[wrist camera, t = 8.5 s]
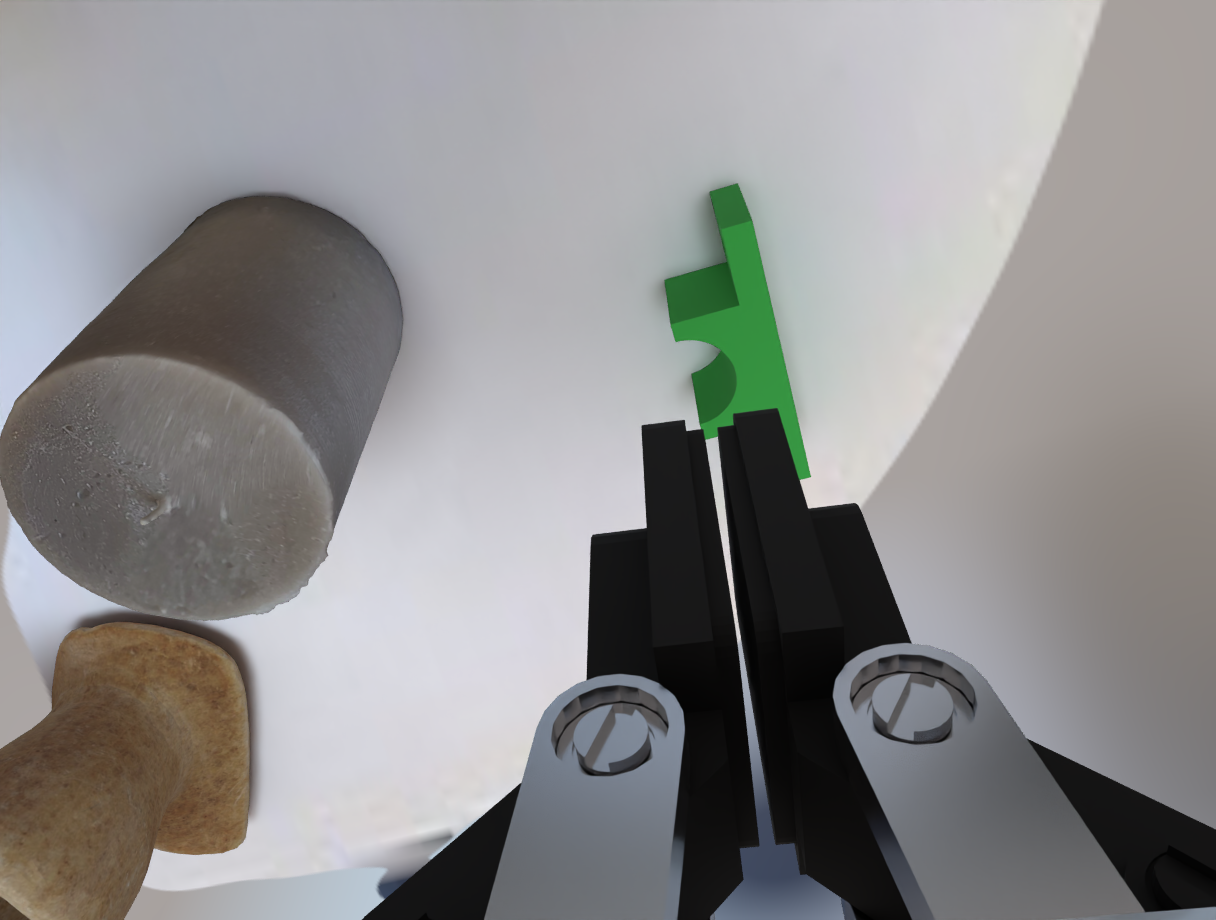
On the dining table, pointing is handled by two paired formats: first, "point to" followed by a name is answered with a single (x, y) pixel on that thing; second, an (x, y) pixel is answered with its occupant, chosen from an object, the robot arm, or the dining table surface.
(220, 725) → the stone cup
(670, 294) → the pipe clamp
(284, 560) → the pillar candle
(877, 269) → the dining table surface
